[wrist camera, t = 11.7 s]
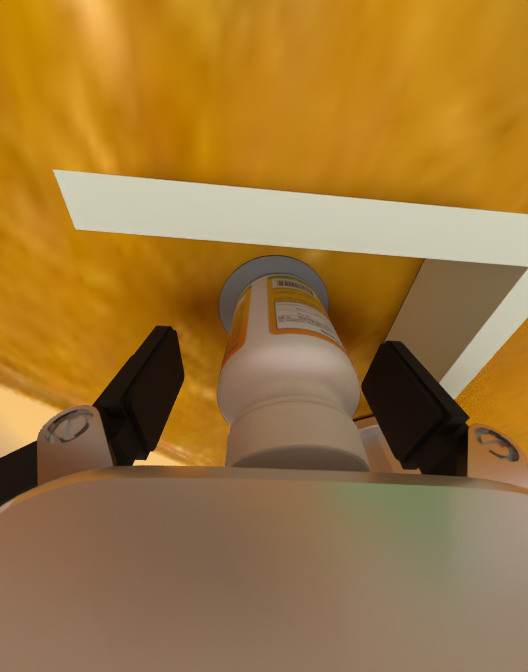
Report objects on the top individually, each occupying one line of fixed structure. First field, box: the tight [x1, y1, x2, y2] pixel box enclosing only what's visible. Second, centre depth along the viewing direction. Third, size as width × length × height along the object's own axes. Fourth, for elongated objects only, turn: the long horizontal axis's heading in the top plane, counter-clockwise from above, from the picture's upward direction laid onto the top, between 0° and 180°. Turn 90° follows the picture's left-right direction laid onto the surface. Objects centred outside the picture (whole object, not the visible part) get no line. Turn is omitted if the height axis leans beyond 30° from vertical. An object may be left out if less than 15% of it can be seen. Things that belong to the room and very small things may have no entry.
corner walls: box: [53, 170, 528, 399], centre depth 11 cm, size 10×17×5 cm, turn 86°
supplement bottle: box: [217, 274, 371, 472], centre depth 10 cm, size 5×5×10 cm
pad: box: [219, 255, 329, 334], centre depth 14 cm, size 7×7×1 cm
